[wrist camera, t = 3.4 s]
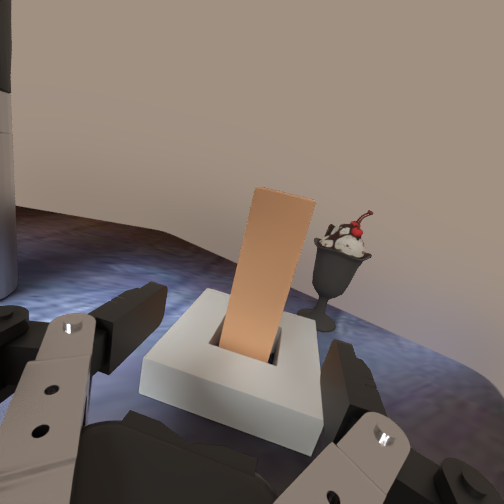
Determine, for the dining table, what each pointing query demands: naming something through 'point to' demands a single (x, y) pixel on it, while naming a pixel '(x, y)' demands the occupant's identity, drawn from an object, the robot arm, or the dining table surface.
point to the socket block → (240, 376)
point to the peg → (265, 271)
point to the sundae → (335, 268)
